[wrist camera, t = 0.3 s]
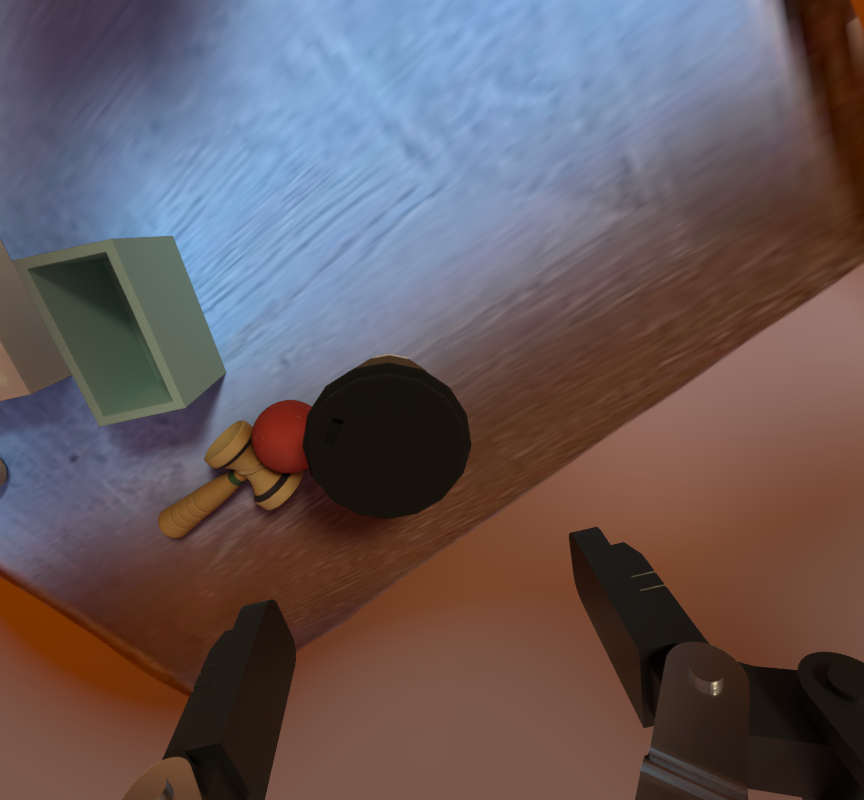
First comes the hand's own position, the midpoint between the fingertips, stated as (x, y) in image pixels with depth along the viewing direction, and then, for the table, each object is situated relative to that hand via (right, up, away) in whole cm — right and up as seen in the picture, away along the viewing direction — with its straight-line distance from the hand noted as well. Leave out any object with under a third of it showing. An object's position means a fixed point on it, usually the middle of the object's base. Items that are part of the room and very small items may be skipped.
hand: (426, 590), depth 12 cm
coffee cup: (-4, +6, +28) cm, 29 cm away
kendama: (-17, 0, +29) cm, 34 cm away
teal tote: (-21, +12, +24) cm, 34 cm away
